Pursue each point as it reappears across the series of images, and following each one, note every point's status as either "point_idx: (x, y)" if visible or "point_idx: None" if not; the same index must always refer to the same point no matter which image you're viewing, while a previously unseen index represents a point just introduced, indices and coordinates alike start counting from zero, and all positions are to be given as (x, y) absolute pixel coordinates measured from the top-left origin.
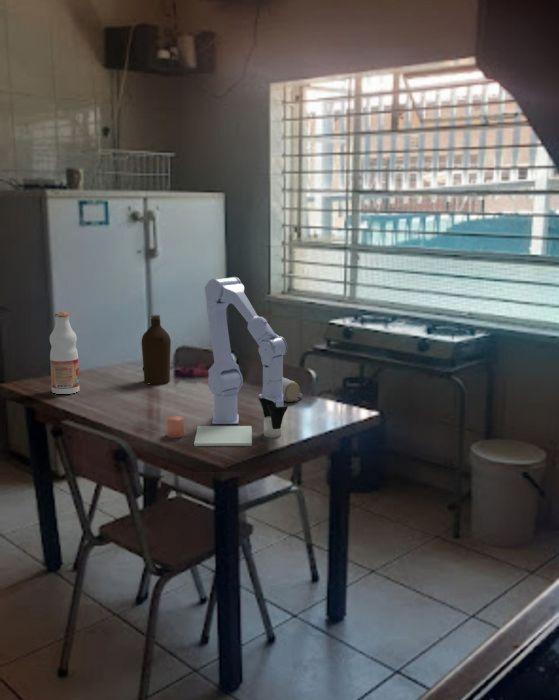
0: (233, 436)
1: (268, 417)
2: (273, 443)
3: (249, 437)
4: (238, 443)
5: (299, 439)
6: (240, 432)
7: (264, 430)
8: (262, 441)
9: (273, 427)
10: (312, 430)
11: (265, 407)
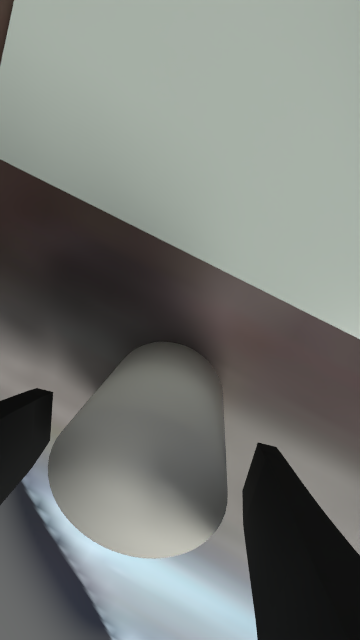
0: (197, 59)
1: (181, 474)
2: (11, 317)
3: (113, 194)
4: (9, 31)
5: (33, 469)
6: (273, 179)
7: (162, 356)
8: (67, 274)
9: (22, 394)
10: (143, 589)
11: (310, 615)
